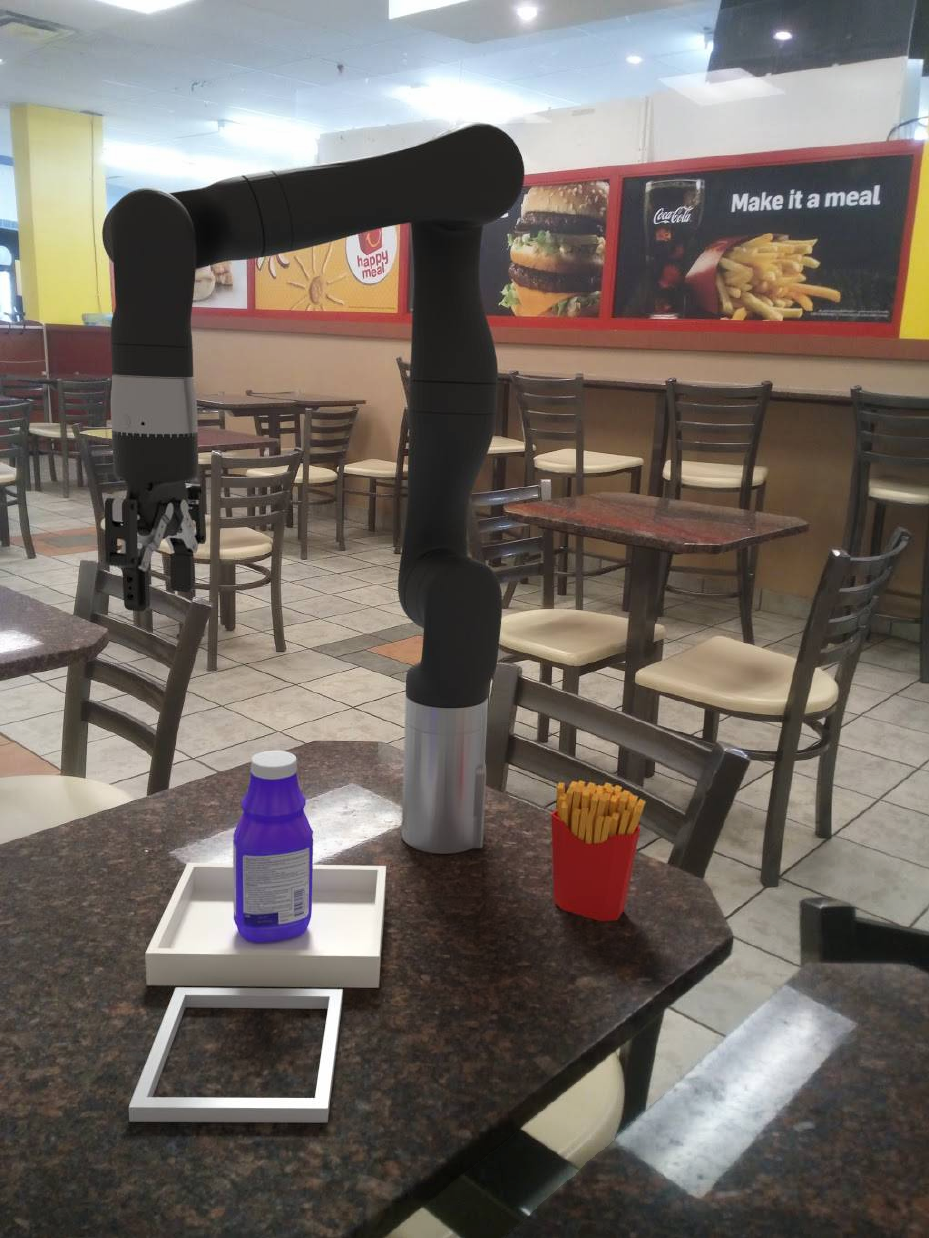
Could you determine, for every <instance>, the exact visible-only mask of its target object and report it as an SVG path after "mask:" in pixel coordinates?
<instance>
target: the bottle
mask: <svg viewBox="0 0 929 1238" xmlns="http://www.w3.org/2000/svg"><path fill="white" fill-rule="evenodd" d="M297 761H298V760H297V756H296V755H295V754H293V753H292V752H289V751H284V750H278V749H277V750H266V751H265V750H264V751H260V752H258V753H255V754H253V755H252V756H251V759H250V768H249V769H250V778H249V779H250V780H249V786H248V788H247V789H248V790H247V792H245V795H244V796H243V798H242V799H241V803H240V804H241V809H242V811H243V814H242V815H241V817H240V819H239V821H238V823H237V825H236V827H235V830H234V833H233V842H232V845H233V846H232V847H233V848H232V849H233V850H232V851H233V854H232V855H233V856H232V860H233V861H232V863H233V903H234V921H235V924H236V926H237V928H238V931H239V933H240V935H241V936H242V937H243V938H244V939H245V940H247V941H249V942H255V943H265V942H274V941H281V940H286V939H290V938H294V937H297V936H299V935H301V934H303V933H304V932H305V930H306V929H307V927H308V925H309V922H310V919H311V913H312V872H313V865H314V864H313V860H314V838H313V834H314V830H313V829H312V827H311V824H310V822H309V820H308V817H307V816H306V813H305V810H304V809H305V806H306V804H307V803H306V802H307V801H306V800H307V799H306V797H305V796H304V795H303V793H302V791H301V788H300V786H299V782H298V781H299V780H298V767H297V765H298V764H297Z"/></svg>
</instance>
